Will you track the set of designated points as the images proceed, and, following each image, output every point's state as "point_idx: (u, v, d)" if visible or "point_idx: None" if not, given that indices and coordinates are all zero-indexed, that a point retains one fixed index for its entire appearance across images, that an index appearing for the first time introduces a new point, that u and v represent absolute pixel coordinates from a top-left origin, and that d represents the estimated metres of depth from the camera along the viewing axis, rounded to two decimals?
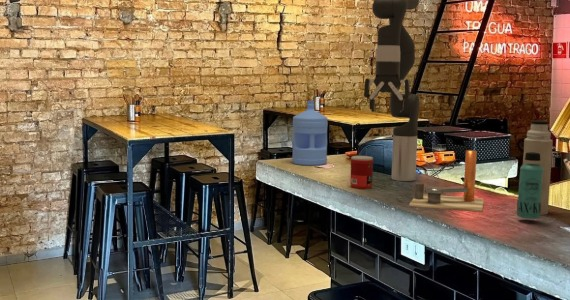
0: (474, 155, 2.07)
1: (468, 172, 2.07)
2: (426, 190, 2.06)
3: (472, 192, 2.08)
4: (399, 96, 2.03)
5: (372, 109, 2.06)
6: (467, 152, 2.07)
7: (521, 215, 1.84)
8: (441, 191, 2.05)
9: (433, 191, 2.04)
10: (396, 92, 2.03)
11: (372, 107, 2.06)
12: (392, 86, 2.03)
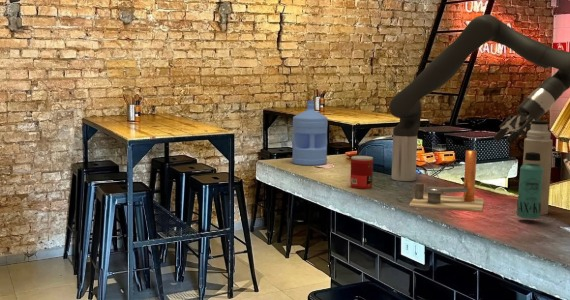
0: (474, 155, 2.07)
1: (468, 172, 2.07)
2: (426, 190, 2.06)
3: (472, 192, 2.08)
4: None
5: None
6: (467, 152, 2.07)
7: (521, 215, 1.84)
8: (441, 191, 2.05)
9: (433, 191, 2.04)
10: None
11: None
12: None
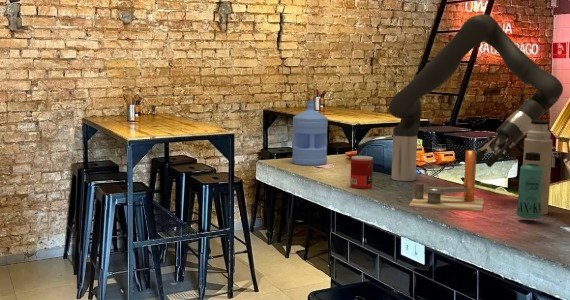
0: (474, 155, 2.07)
1: (468, 172, 2.07)
2: (426, 190, 2.06)
3: (472, 192, 2.08)
4: None
5: None
6: (467, 152, 2.07)
7: (521, 215, 1.84)
8: (441, 191, 2.05)
9: (433, 191, 2.04)
10: None
11: None
12: None
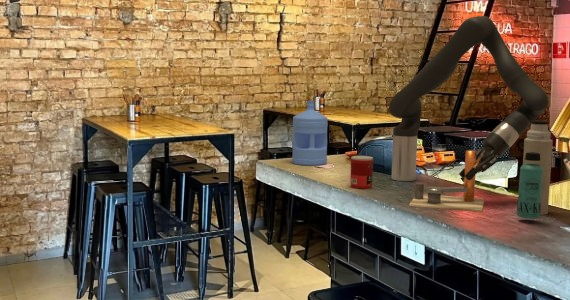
0: (474, 155, 2.07)
1: None
2: (426, 190, 2.06)
3: (472, 192, 2.08)
4: None
5: None
6: (467, 152, 2.07)
7: (521, 215, 1.84)
8: (441, 191, 2.05)
9: (433, 191, 2.04)
10: None
11: None
12: None
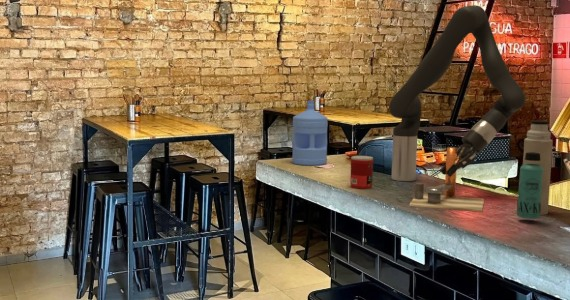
0: (456, 152, 2.14)
1: None
2: (431, 191, 2.05)
3: None
4: None
5: None
6: (451, 149, 2.13)
7: (521, 215, 1.84)
8: None
9: (440, 191, 2.04)
10: None
11: None
12: None
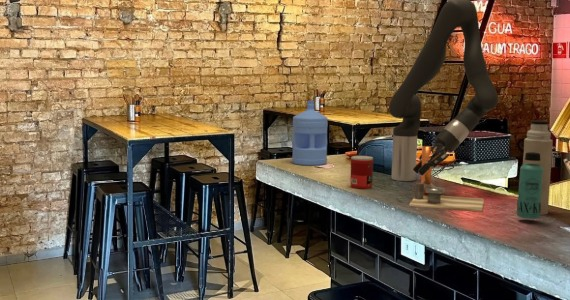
0: None
1: None
2: (438, 191, 2.04)
3: None
4: None
5: None
6: (430, 148, 2.16)
7: (521, 215, 1.84)
8: None
9: (443, 190, 2.06)
10: None
11: None
12: None
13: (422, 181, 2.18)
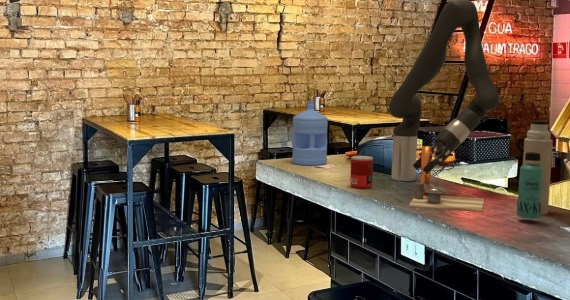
0: None
1: None
2: (438, 191, 2.04)
3: None
4: None
5: None
6: (429, 148, 2.16)
7: (521, 215, 1.84)
8: None
9: (443, 190, 2.06)
10: None
11: None
12: None
13: (422, 181, 2.18)
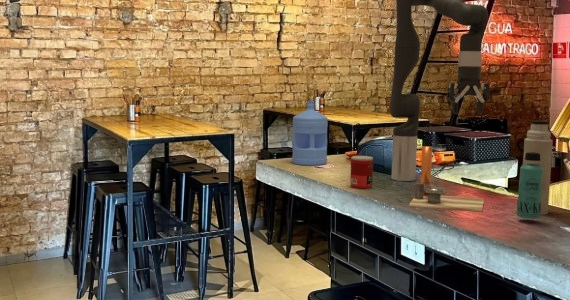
0: None
1: (430, 167, 2.17)
2: (438, 191, 2.04)
3: None
4: (481, 99, 2.18)
5: (457, 112, 2.17)
6: (429, 148, 2.16)
7: (521, 215, 1.84)
8: None
9: (443, 190, 2.06)
10: (479, 95, 2.17)
11: (457, 110, 2.16)
12: (476, 89, 2.16)
13: (422, 181, 2.18)
